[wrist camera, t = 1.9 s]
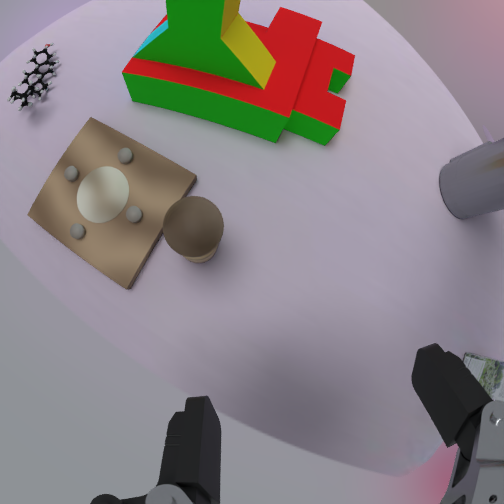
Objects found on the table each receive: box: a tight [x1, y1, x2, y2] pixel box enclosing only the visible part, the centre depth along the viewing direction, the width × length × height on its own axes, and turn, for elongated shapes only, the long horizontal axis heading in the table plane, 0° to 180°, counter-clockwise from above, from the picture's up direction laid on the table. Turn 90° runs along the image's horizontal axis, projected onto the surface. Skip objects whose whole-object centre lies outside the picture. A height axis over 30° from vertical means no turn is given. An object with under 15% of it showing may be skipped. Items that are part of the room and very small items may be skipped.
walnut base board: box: [28, 117, 197, 289], centre depth 29 cm, size 14×16×3 cm
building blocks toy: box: [122, 0, 355, 146], centre depth 25 cm, size 19×25×18 cm
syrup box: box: [463, 353, 504, 402], centre depth 29 cm, size 6×6×14 cm
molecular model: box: [7, 43, 59, 111], centre depth 26 cm, size 15×6×6 cm, turn 9°
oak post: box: [163, 196, 224, 263], centre depth 25 cm, size 4×4×12 cm
